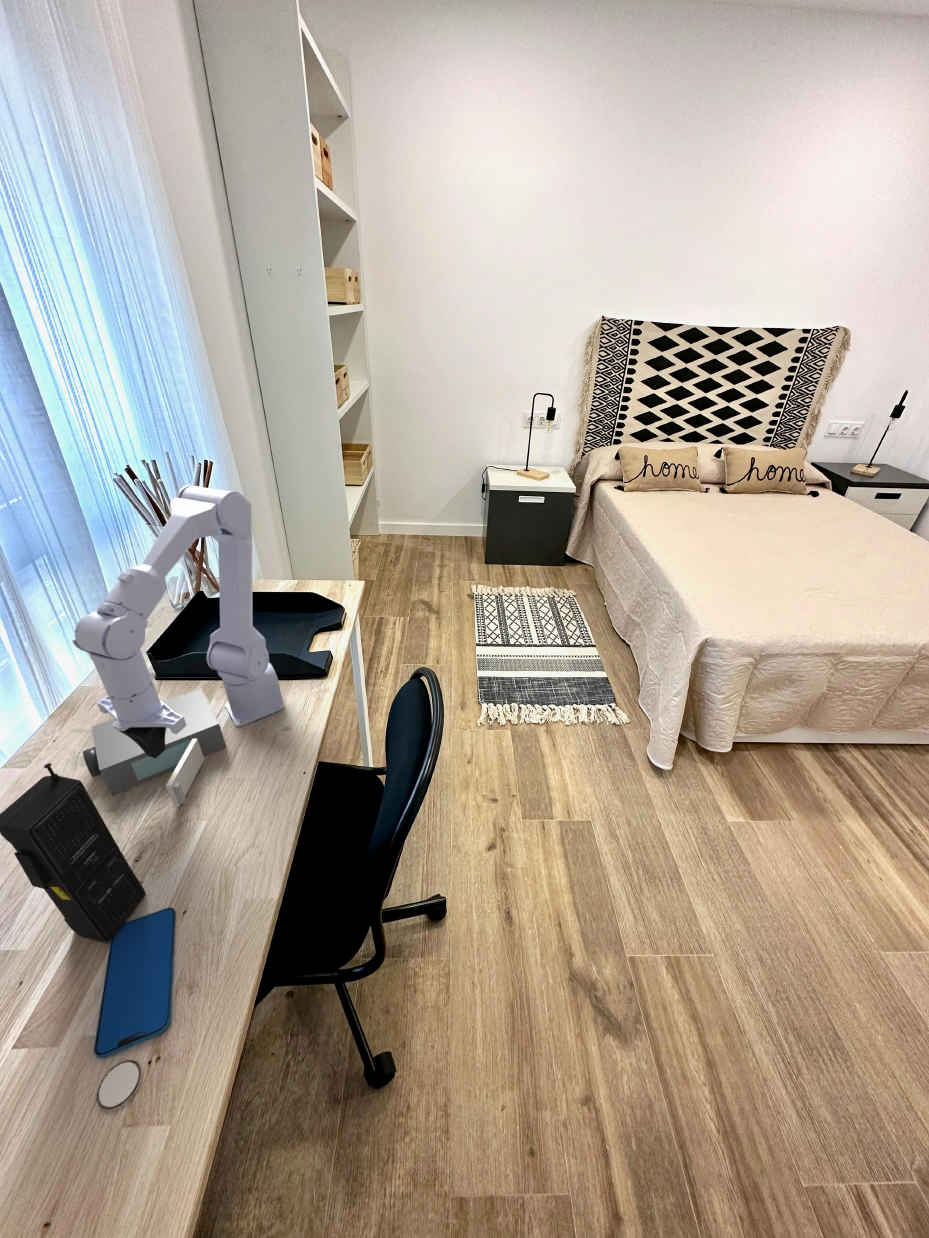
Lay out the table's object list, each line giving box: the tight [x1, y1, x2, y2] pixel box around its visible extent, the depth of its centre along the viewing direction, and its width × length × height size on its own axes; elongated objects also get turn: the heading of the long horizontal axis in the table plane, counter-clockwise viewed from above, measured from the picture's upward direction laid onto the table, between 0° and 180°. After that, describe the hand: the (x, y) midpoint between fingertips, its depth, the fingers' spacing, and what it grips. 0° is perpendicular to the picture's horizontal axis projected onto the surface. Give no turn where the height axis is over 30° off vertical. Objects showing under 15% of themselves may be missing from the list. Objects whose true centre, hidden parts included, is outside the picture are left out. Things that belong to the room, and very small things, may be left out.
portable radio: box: [0, 762, 147, 944], centre depth 61 cm, size 8×6×25 cm
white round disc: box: [96, 1059, 143, 1112], centre depth 53 cm, size 4×4×1 cm
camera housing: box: [82, 687, 227, 796], centre depth 90 cm, size 20×12×6 cm, turn 127°
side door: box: [165, 739, 205, 808], centre depth 84 cm, size 10×2×5 cm, turn 2°
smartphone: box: [93, 907, 177, 1060], centre depth 61 cm, size 7×1×15 cm
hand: (157, 752), depth 81 cm, fingers closed
